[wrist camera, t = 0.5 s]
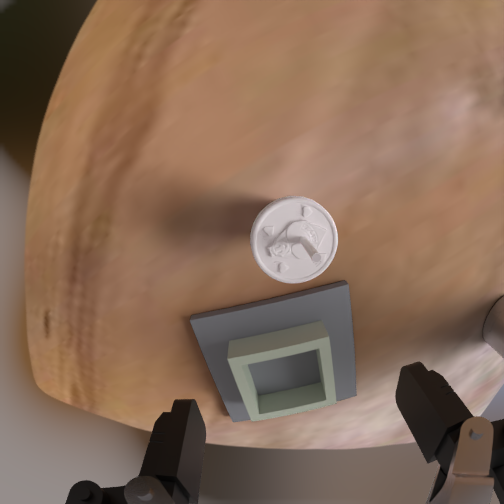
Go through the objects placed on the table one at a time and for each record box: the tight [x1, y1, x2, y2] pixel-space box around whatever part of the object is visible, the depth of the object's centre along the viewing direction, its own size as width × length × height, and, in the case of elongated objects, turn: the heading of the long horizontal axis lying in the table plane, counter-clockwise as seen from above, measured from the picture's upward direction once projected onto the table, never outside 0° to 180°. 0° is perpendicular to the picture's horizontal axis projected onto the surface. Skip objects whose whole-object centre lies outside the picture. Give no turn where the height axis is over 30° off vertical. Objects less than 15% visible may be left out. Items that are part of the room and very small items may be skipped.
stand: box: [190, 280, 356, 422], centre depth 32 cm, size 18×18×5 cm
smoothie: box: [250, 196, 338, 283], centre depth 23 cm, size 6×6×14 cm
